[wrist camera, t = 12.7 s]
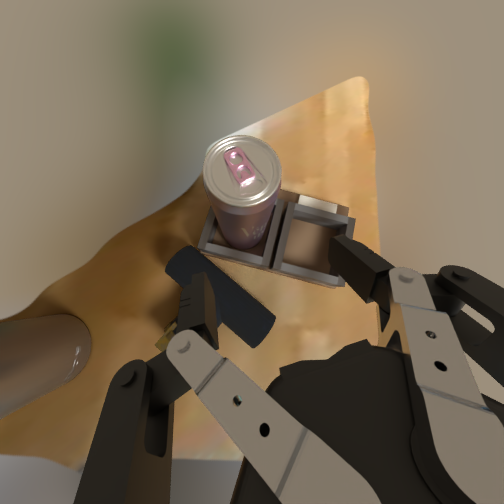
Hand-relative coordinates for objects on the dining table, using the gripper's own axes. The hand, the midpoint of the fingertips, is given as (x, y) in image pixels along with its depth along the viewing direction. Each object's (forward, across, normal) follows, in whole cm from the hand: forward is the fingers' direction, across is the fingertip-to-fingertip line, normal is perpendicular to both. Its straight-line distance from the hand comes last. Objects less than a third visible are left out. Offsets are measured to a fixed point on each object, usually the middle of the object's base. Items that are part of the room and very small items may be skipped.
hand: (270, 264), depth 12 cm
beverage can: (+16, 0, +6) cm, 17 cm away
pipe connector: (+10, +8, +14) cm, 19 cm away
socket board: (+16, -5, +7) cm, 18 cm away
